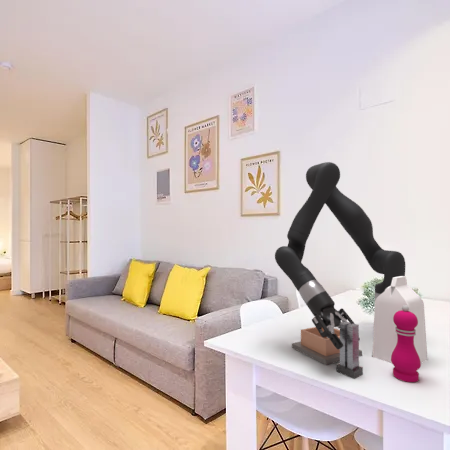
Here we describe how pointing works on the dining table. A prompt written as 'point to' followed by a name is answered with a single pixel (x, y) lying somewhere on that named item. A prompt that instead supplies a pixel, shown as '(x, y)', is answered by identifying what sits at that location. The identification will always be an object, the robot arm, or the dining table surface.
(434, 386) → the dining table surface
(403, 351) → the pepper mill
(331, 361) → the holder
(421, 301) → the milk
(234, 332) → the dining table surface
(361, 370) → the twin upright plate stand
